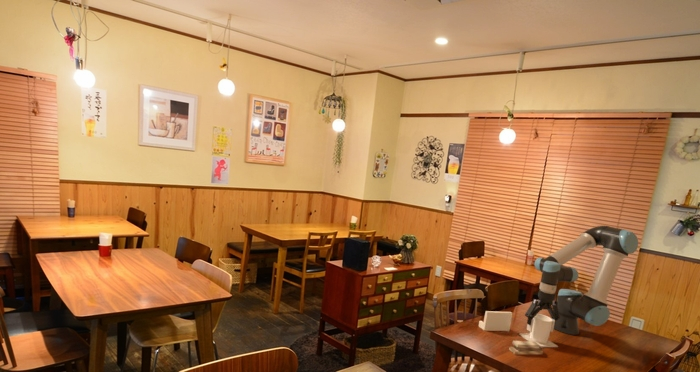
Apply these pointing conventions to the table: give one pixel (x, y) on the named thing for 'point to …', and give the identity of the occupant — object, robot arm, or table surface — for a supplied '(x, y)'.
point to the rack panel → (496, 321)
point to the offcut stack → (526, 347)
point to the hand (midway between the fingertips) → (539, 330)
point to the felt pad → (548, 344)
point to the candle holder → (541, 328)
